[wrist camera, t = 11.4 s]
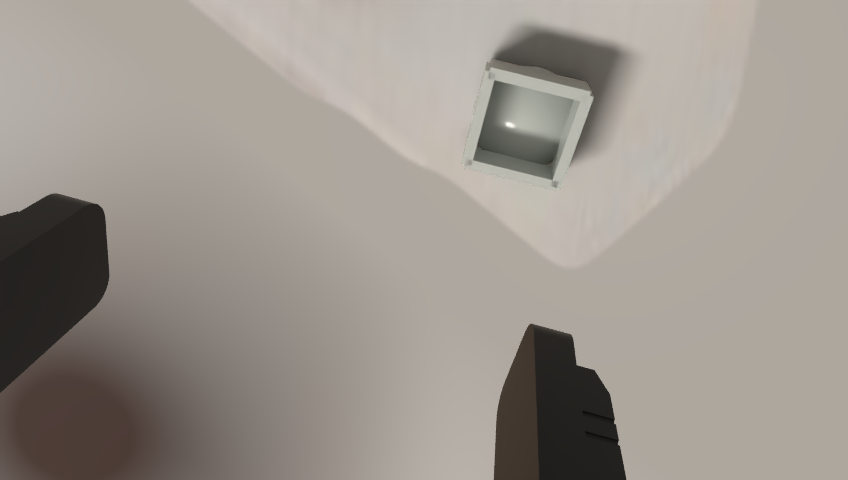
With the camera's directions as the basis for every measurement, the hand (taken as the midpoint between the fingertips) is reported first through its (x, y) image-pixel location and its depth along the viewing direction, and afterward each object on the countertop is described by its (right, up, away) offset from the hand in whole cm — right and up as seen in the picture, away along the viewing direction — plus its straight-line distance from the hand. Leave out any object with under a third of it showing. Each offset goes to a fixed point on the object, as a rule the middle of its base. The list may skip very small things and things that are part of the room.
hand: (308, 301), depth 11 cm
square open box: (+10, +11, +34) cm, 37 cm away
